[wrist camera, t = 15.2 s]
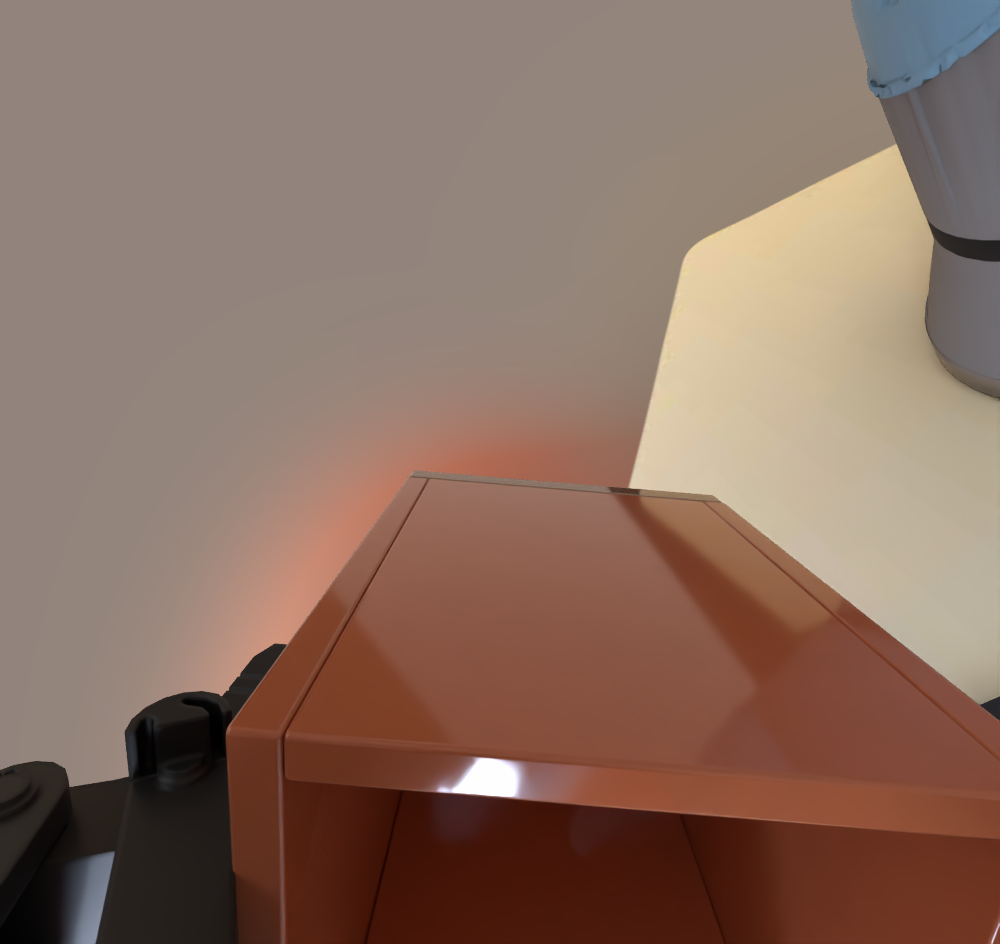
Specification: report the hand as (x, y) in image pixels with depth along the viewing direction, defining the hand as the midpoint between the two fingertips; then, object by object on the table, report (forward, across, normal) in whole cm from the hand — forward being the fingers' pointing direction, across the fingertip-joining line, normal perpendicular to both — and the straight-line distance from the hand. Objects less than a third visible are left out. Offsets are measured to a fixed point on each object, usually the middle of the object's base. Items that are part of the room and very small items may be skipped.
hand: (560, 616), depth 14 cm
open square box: (-3, 0, -6) cm, 7 cm away
